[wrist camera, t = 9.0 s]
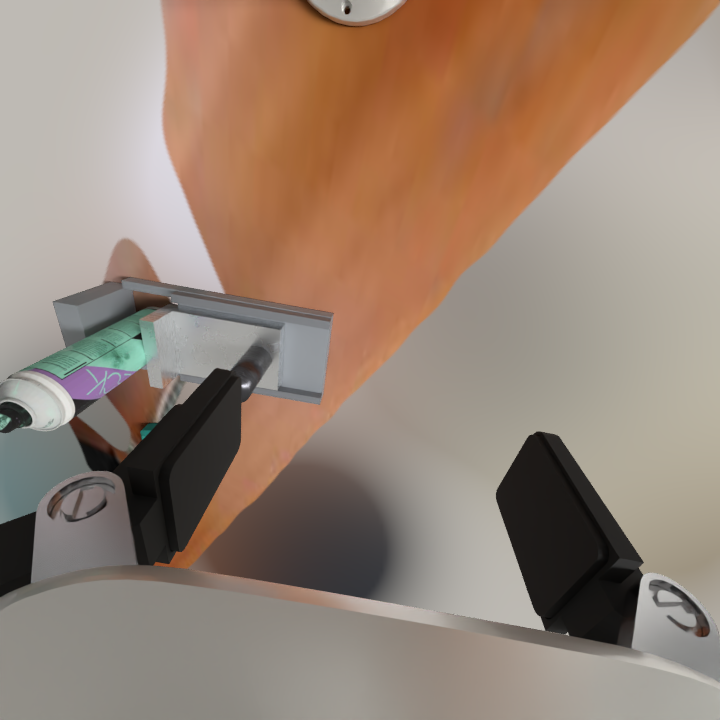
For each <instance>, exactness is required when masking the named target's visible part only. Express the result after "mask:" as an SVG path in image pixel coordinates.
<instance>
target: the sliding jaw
mask: <svg viewBox="0 0 720 720" xmlns="http://www.w3.org/2000/svg"><path fill="white" fill-rule="evenodd" d="M139 323H140V329H141V334H142V340H143V346H144V352H145V358H146V364H147V370H148V376H149V381H150V386H151V387H157V388H164V387H165V386H167V385H168V384H169V383H170V382H171V381H172V380H173V379H174V378H175V377H177V376H178V375H179V374H185V375H191V376H196V377H202V378H207V377H208V376H209V375H210V373H211V372H212V371H213V370H214V369H215V368H220V369H225V370H230V371H235V372H236V376H237V377H240V378H241V381H242V384H241V403H242V402H245V401H246V400H247V399H248V398H249V397H250V395H251V394H252V392H253V391H254V389H255V388H256V387H259V388H265V389H271V390H277V391H278V389H279V387H280V385H281V383H282V373H283V355H284V337H285V324H283V323H278V322H272V321H266V320H261V319H255V318H249V317H244V316H238V315H232V314H227V313H221V312H215V311H210V310H204V309H198V308H193V307H187V306H181V305H176V304H168V305H166V306H164V307H162V308H160V309H158V310H156V311H154V312H153V313H151V314H149V315H147V316H145V317H143V318H141V319H139Z"/></svg>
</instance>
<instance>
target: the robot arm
mask: <svg viewBox="0 0 720 720" xmlns="http://www.w3.org/2000/svg"><path fill="white" fill-rule="evenodd" d="M307 1H308V2H309V4H310V5H311V6H313V7H314V8H315V9H316V10H317V11H318V12H319V13H321V14H322V15H323V16H325V17H327V18H329V19H331V20H332V21H334V22H336V23H340V24H344V25H348V26H365V25H369V24H372V23H376V22H379V21H381V20H383V19H384V18H386V17H388V16H390V15H392V14H393V13H394V12H395V11H396V10H398V9H399V8H400V7H401V6H402V5H403V4H405V2H406V1H407V0H307ZM346 9H350V13H349V14H347V15H346V14H345V10H346ZM241 384H242V381H241V378H240V377H237V376H236V372H235V371H230V370H225V369H220V368H215V369H214V370H213V371H212V372H211V373H210V375H209V376H208V377H207V378H206V379H205V380H204V381H203V382H202V383H201V385H200V386H199V387H198V388H197V389H196V390H195V391H194V392H193V393H192V394H191V396H190V397H189V398H188V399H187V400H186V401H185V402H184V403H183V404H178V405H175V406H174V407H173V408H172V409H171V410H170V411H169V412H168V413H167V414H166V415H165V416H164V417H163V418H162V420H161V421H160V422H159V423H158V424H157V425H156V426H155V427H154V428H153V429H152V430H151V431H150V432H149V434H148V435H147V436H146V437H145V438H144V439H143V440H142V441H141V442H140V443H139V444H138V445H137V446H136V447H135V449H134V450H133V451H132V452H131V453H130V454H129V455H128V456H127V457H126V458H125V459H124V460H123V461H122V462H121V464H120V465H119V466H118V467H117V468H116V469H115V470H114V471H113V472H112V473H110V472H107V471H92V472H88V473H82V474H79V475H77V476H74V477H71V478H69V479H67V480H65V481H63V482H62V483H60V484H58V485H56V486H55V487H54V488H53V489H52V490H50V491H49V492H48V493H47V494H46V495H45V496H44V498H43V499H42V500H41V502H40V503H39V506H38V509H37V511H36V512H33V513H31V514H28V515H25V516H22V517H20V518H17V519H14V520H11V521H8V522H6V523H3V524H0V720H720V635H719V632H718V629H717V625H716V624H715V622H714V620H713V618H712V617H711V615H710V614H709V612H708V611H707V610H706V609H705V608H704V606H703V605H702V604H701V603H700V602H699V601H698V600H697V599H696V598H695V597H694V596H693V595H692V594H691V593H690V592H688V591H687V590H686V589H685V588H683V587H682V586H681V585H680V584H678V583H676V582H675V581H673V580H671V579H670V578H668V577H665V576H663V575H660V574H657V573H647V574H645V575H643V574H642V573H641V571H640V570H639V567H640V566H641V565H642V564H643V563H644V562H643V561H642V559H641V558H640V556H639V555H638V553H637V552H636V550H635V549H634V547H633V546H632V544H631V543H630V541H629V540H628V538H627V537H626V535H625V534H624V532H623V531H622V529H621V528H620V527H619V525H618V523H617V522H616V520H615V519H614V518H613V516H612V514H611V513H610V512H609V510H608V509H607V507H606V506H605V504H604V503H603V501H602V500H601V498H600V497H599V495H598V494H597V492H596V491H595V489H594V488H593V486H592V485H591V483H590V482H589V480H588V479H587V477H586V476H585V474H584V473H583V471H582V470H581V469H580V467H579V465H578V464H577V463H576V461H575V459H574V458H573V457H572V455H571V454H570V452H569V451H568V449H567V448H566V446H565V445H564V443H563V442H562V440H561V439H560V437H559V436H557V435H555V434H550V433H545V432H536V433H534V434H533V435H530V436H529V437H528V438H527V440H526V441H525V443H524V445H523V446H522V448H521V450H520V451H519V454H518V455H517V456H516V458H515V460H514V462H513V463H512V465H511V467H510V469H509V470H508V472H507V474H506V475H505V477H504V479H503V480H502V482H501V484H500V485H499V487H498V489H497V492H496V500H497V503H498V506H499V509H500V512H501V515H502V518H503V521H504V524H505V527H506V529H507V532H508V535H509V538H510V541H511V544H512V547H513V550H514V553H515V555H516V559H517V561H518V564H519V567H520V570H521V573H522V576H523V579H524V582H525V585H526V588H527V591H528V593H529V596H530V599H531V602H532V605H533V608H534V610H535V612H536V613H537V615H539V616H541V619H542V622H543V625H544V628H545V631H542V630H536V629H531V628H525V627H520V626H514V625H509V624H503V623H498V622H493V621H487V620H482V619H476V618H470V617H465V616H459V615H454V614H448V613H443V612H437V611H431V610H426V609H420V608H415V607H408V606H404V605H398V604H392V603H387V602H381V601H375V600H370V599H364V598H358V597H353V596H347V595H341V594H335V593H329V592H324V591H318V590H312V589H306V588H300V587H294V586H289V585H283V584H276V583H271V582H265V581H260V580H253V579H248V578H241V577H235V576H228V575H221V574H215V573H208V572H202V571H195V570H189V569H181V568H171V567H161V566H153V565H154V563H155V562H160V563H166V564H169V563H170V562H171V560H172V558H173V556H174V555H175V553H176V551H178V552H182V551H183V550H184V549H185V547H186V545H187V544H188V542H189V540H190V538H191V536H192V534H193V533H194V531H195V529H196V527H197V525H198V523H199V522H200V520H201V518H202V516H203V514H204V512H205V510H206V509H207V507H208V505H209V503H210V501H211V499H212V498H213V496H214V494H215V492H216V490H217V488H218V487H219V485H220V483H221V481H222V479H223V477H224V476H225V474H226V472H227V470H228V468H229V466H230V465H231V463H232V461H233V459H234V457H235V455H236V454H237V452H238V449H239V446H240V442H241ZM547 631H549V632H547ZM553 632H554V633H553ZM567 632H568V633H569V636H568V635H563V634H566V633H567ZM558 633H560V634H558Z"/></svg>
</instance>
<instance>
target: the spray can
mask: <svg viewBox="0 0 720 720" xmlns="http://www.w3.org/2000/svg"><path fill="white" fill-rule="evenodd" d="M158 309H160V308H159V307H148V308H145V309H143V310H141V311H139V312H137V313H135V314H133V315H131V316H129V317H127V318H125V319H123V320H121V321H119V322H117V323H115V324H113V325H111V326H109V327H107V328H105V329H103V330H101V331H99V332H97V333H95V334H93V335H91V336H89V337H87V338H85V339H83V340H81V341H79V342H77V343H75V344H73V345H71V346H69V347H67V348H65V349H63V350H61V351H58V352H57V353H55V354H53V355H50V356H49V357H46V358H44V359H42V360H40V361H39V362H36V363H34V364H32V365H30V366H29V367H27V368H24V369H23V370H20V371H19V372H16V373H14V374H12V375H10V376H9V377H8V378H7V379H6V380H4V381H2V382H0V432H2V433H9V432H11V431H12V430H14V429H16V428H32V429H34V430H39V431H52V430H54V429H56V428H58V427H59V426H61V425H63V424H65V423H67V422H68V421H70V420H71V419H72V418H74V417H75V416H77V415H78V414H79V413H81V412H82V411H83V410H85V409H86V408H87V407H89V406H90V405H91V404H93V403H94V402H96V401H97V400H98V399H100V398H101V397H102V396H103V395H105V394H106V393H108V392H109V391H111V390H112V389H113V388H115V387H116V386H117V385H119V384H120V383H121V382H123V381H124V380H126V379H127V378H128V377H130V376H131V375H132V374H134V373H135V372H136V371H138V370H139V369H141V368H142V367H143V366H145V365H146V358H145V352H144V346H143V340H142V334H141V329H140V323H139V319H141V318H143V317H145V316H147V315H149V314H151V313H153V312H154V311H156V310H158Z"/></svg>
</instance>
